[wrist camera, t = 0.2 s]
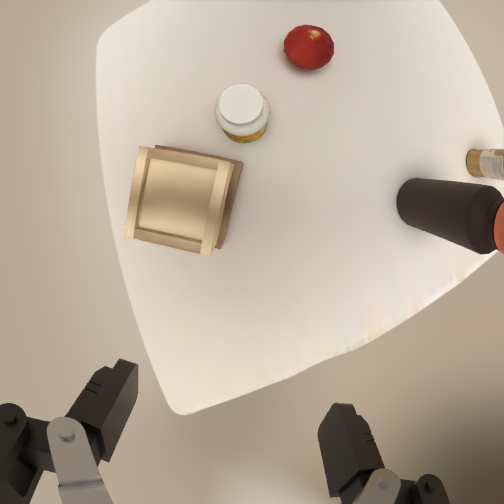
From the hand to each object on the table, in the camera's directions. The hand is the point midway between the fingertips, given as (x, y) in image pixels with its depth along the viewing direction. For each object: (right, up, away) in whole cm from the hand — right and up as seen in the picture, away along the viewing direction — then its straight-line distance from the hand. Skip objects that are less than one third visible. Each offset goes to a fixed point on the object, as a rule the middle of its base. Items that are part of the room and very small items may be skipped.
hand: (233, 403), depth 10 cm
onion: (+7, +31, +20) cm, 37 cm away
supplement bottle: (0, +22, +22) cm, 31 cm away
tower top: (-7, +12, +21) cm, 25 cm away
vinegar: (+23, +13, +24) cm, 36 cm away
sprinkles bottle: (+35, +20, +22) cm, 46 cm away
